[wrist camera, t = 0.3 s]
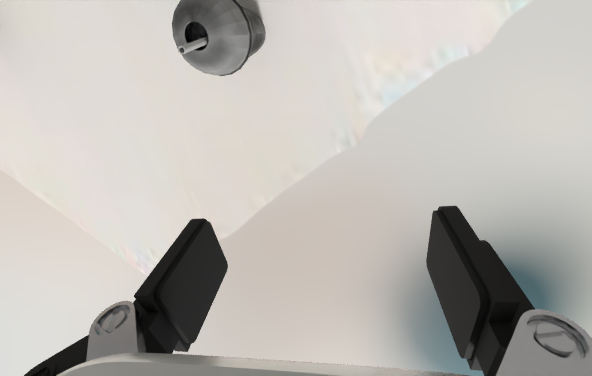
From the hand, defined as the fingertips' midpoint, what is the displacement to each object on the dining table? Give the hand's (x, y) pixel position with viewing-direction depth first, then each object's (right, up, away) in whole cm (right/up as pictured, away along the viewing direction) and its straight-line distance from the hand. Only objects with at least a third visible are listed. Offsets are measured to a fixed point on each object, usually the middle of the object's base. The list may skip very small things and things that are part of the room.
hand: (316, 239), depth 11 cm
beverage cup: (-7, +23, +24) cm, 34 cm away
